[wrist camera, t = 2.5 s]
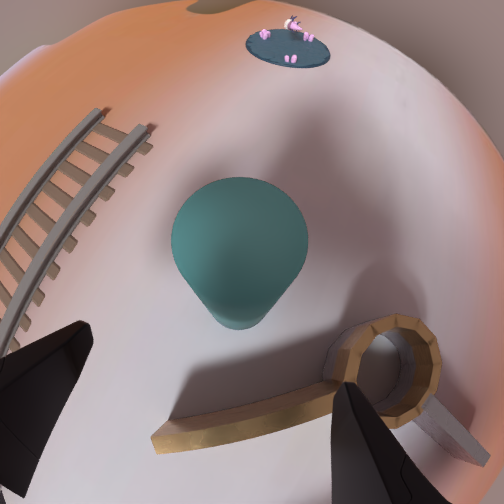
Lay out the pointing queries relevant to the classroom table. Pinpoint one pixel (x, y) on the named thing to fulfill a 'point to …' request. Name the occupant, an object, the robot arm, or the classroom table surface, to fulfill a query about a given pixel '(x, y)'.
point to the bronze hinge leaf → (312, 394)
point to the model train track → (75, 212)
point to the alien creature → (288, 47)
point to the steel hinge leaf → (434, 414)
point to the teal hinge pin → (239, 248)
